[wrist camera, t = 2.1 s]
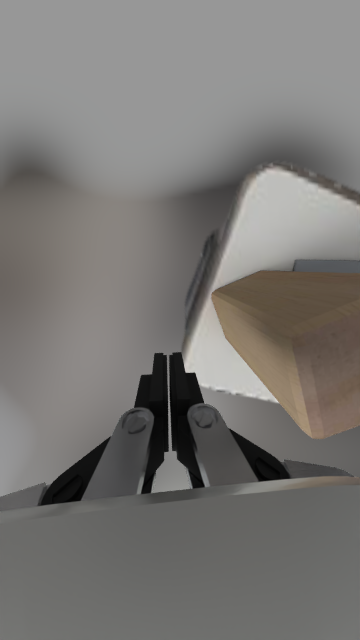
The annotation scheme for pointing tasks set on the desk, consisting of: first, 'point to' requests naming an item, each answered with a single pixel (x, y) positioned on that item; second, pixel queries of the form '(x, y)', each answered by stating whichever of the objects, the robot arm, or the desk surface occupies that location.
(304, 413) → the wooden block
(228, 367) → the desk surface
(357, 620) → the robot arm
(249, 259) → the desk surface
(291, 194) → the desk surface
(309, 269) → the mat
